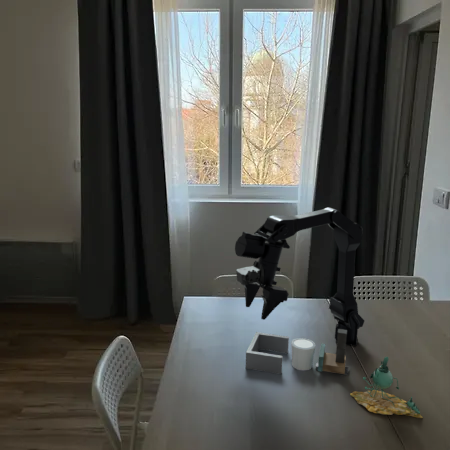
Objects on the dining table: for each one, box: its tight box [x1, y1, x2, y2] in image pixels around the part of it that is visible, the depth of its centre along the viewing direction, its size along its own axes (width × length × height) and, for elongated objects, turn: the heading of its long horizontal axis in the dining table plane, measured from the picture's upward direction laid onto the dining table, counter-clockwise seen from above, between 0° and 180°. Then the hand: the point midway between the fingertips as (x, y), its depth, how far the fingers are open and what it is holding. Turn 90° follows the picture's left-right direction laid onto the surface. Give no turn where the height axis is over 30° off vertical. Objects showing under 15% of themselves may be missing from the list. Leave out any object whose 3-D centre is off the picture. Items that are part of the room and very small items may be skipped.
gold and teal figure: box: [349, 356, 423, 419], centre depth 115 cm, size 10×18×15 cm, turn 48°
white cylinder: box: [290, 337, 316, 371], centre depth 134 cm, size 7×7×7 cm
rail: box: [315, 361, 349, 376], centre depth 132 cm, size 9×2×1 cm, turn 74°
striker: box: [317, 329, 347, 375], centre depth 131 cm, size 7×8×11 cm
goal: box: [245, 331, 290, 375], centre depth 137 cm, size 10×13×5 cm
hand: (255, 312), depth 132 cm, fingers open, 9 cm apart
